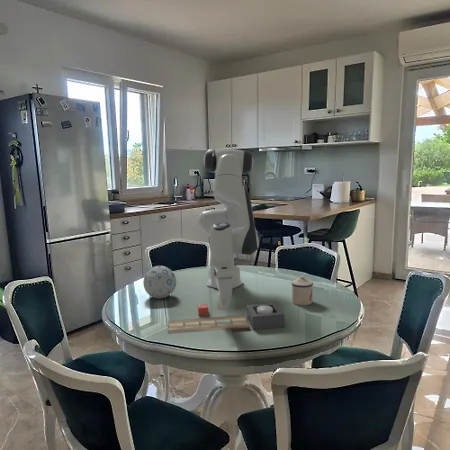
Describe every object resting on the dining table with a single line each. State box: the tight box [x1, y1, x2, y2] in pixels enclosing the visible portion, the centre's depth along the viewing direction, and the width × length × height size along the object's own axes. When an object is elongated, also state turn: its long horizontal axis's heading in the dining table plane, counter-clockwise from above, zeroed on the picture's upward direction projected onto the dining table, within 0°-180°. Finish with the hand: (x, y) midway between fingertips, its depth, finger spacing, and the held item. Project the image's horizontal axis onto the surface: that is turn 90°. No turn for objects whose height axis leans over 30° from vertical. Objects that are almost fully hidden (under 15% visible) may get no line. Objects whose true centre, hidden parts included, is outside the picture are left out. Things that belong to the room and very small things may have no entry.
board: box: [167, 314, 251, 335], centre depth 144 cm, size 12×30×1 cm, turn 97°
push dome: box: [257, 305, 273, 314], centre depth 146 cm, size 6×6×3 cm
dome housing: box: [246, 302, 285, 331], centre depth 146 cm, size 12×12×5 cm
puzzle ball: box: [143, 265, 177, 300], centre depth 177 cm, size 15×15×15 cm
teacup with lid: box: [291, 275, 314, 306], centre depth 167 cm, size 12×9×12 cm
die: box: [197, 303, 210, 316], centre depth 154 cm, size 4×4×4 cm
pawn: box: [217, 291, 230, 311], centre depth 143 cm, size 4×4×6 cm
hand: (223, 302), depth 143 cm, fingers closed on pawn, 4 cm apart
